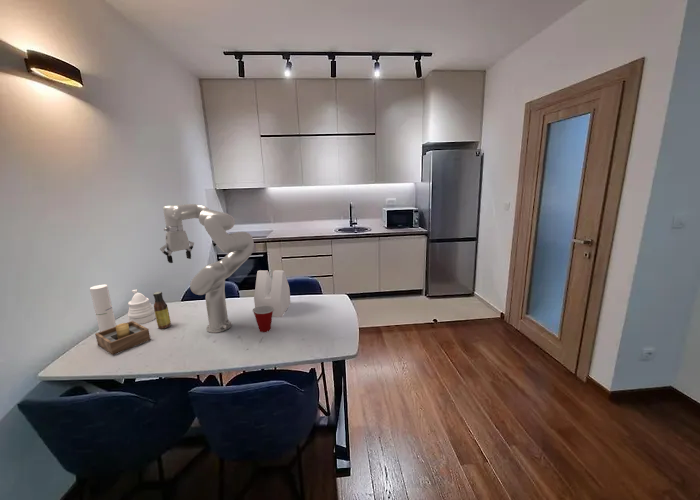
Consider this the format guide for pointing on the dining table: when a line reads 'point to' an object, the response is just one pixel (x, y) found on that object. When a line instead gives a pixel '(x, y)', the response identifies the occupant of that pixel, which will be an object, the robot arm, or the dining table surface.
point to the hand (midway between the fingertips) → (180, 260)
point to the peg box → (115, 345)
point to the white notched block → (272, 291)
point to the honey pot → (140, 309)
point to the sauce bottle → (161, 311)
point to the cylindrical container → (103, 307)
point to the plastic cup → (263, 317)
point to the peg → (122, 330)
